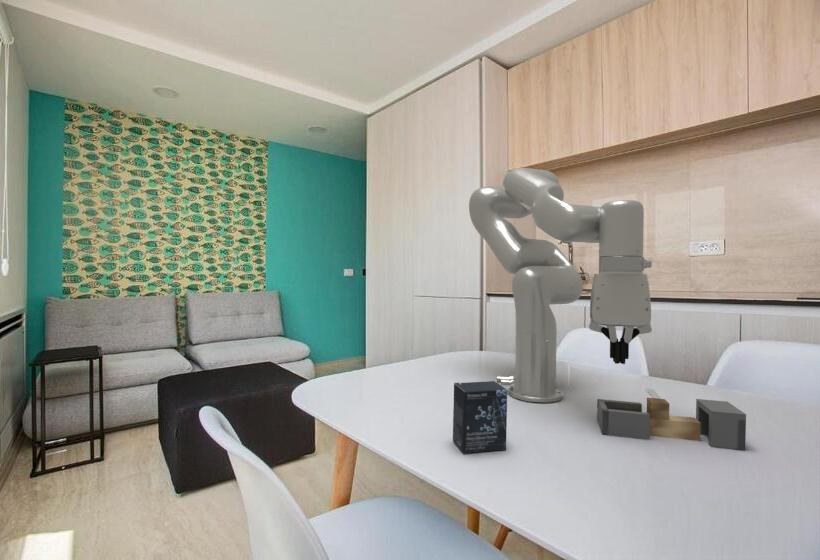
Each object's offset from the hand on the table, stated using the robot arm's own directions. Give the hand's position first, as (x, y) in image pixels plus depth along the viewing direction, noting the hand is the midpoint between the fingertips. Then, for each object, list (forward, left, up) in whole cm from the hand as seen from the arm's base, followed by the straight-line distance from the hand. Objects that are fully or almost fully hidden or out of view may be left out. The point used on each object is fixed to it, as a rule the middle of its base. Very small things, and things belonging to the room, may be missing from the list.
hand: (618, 362), depth 80 cm
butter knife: (+13, +20, -14) cm, 28 cm away
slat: (+6, 0, -13) cm, 14 cm away
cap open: (+1, 0, -13) cm, 13 cm away
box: (-24, -16, -13) cm, 32 cm away
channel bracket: (+17, 0, -13) cm, 21 cm away
